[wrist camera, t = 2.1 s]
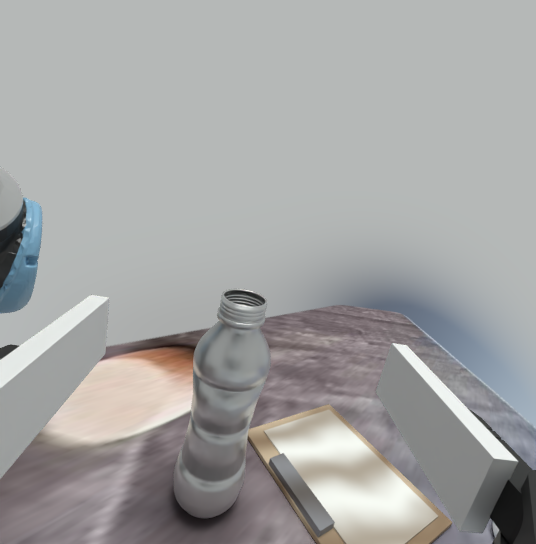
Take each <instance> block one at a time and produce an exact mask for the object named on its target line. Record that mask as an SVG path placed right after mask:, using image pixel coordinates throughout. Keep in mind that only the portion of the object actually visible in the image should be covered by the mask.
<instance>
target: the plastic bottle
mask: <svg viewBox="0 0 536 544" xmlns="http://www.w3.org/2000/svg"><path fill="white" fill-rule="evenodd" d="M266 307H267V300H266V298H264V297H263V296H262V295H260V294H258V293H256V292H252V291H249V290H244V289H229V290H226V291H224V292H223V294H222V297H221V304H220V307H219V309H218V313H217V317H218V319H219V322H217V323H216V324H215V325H214V326H213V327H211V328H210V329H209V330H208V331H207V332H206V333H205V335H204V336H203V337H202V338H201V339H200V341H199V343H198V345H197V347H196V349H195V352H194V360H193V397H192V406H191V415H190V422H189V426H188V429H187V433H186V437H185V440H184V444H183V447H182V449H181V451H180V453H179V455H178V458H177V461H176V465H175V468H174V472H173V483H174V493H175V497H176V500H177V502H178V503H179V505H180V506H181V507H182V508H183V509H184V510H185V511H186V512H187V513H189V514H190V515H192V516H194V517H198V518H212V517H215V516H217V515H220V514H222V513H223V512H225V511H227V510H228V509H229V508H230V507H231V506H232V505H233V503H234V502H235V501H236V499H237V496H238V494H239V492H240V490H241V488H242V486H243V482H244V477H245V452H246V445H247V438H248V430H249V427H250V423H251V419H252V416H253V413H254V410H255V406H256V403H257V401H258V398H259V396H260V393H261V391H262V388H263V386H264V384H265V381H266V378H267V376H268V373H269V370H270V366H271V356H270V349H269V347H268V344H267V341H266V339H265V337H264V335H263V333H262V331H261V329H260V327H262V326H263V325H264V322H265V311H266Z"/></svg>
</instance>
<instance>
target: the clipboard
mask: <svg viewBox="0 0 536 544" xmlns="http://www.w3.org/2000/svg"><path fill="white" fill-rule="evenodd" d="M247 439H248V440H249V442H250V443H251V445H252V446H253V448H254V449H255V451H256V452H257V454H258V455H259V457H260V458H261V460H262V462H263V463H264V465H265V466H266V468H267V469H268V471H269V472H270V474H271V475H272V477H273V478H274V480H275V481H276V483H277V484H278V486H279V487H280V489H281V490H282V492H283V493H284V495H285V497H286V498H287V500H288V501H289V503H290V504H291V506H292V507H293V509H294V510H295V512H296V513H297V515H298V516H299V518H300V519H301V521H302V522H303V524H304V525H305V527H306V528H307V530H308V532H309V533H310V535H311V536H312V538H313V539H314V541H315V542H316V544H431V543H432V542H434V541H435V540H436V539H437V538H438V537H439V536H440V535H441V534H442V533H444V532H445V531H446V530H447V529H448V528H449V527H450V526H451V524H452V522H451V521H450V520H449V519H448V518H447V517H446V516H445V515H444V514H443V513H442V512H441V511H440V510H439V509H438V508H437V507H436V506H435V505H434V504H433V503H432V502H430V501H429V500H428V499H427V498H426V497H425V496H424V495H423V494H422V493H421V492H420V491H419V490H418V489H417V488H416V487H415V486H414V485H413V484H412V483H411V482H410V481H409V480H408V479H406V478H405V477H404V476H403V475H402V474H401V473H400V472H399V471H398V470H397V469H396V468H395V467H394V466H393V465H392V464H391V463H390V462H389V461H388V460H387V459H386V458H385V457H384V456H382V455H381V454H380V453H379V452H378V451H377V450H376V449H375V448H374V447H373V446H372V445H371V444H370V443H369V442H368V441H367V440H366V439H365V438H364V437H363V436H362V435H361V434H360V433H358V432H357V431H356V430H355V429H354V428H353V427H352V426H351V425H350V424H349V423H348V422H347V421H346V420H345V419H344V418H343V417H342V416H341V415H340V414H339V413H338V412H337V411H336V410H334V409H333V408H332V407H331V406H330V405H329V404H328V405H325V406H322V407H319V408H315V409H312V410H309V411H306V412H303V413H299V414H296V415H293V416H290V417H287V418H284V419H280V420H277V421H274V422H271V423H268V424H264V425H261V426H258V427H255V428H252V429H249V430H248V438H247Z"/></svg>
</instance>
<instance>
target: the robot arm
mask: <svg viewBox="0 0 536 544" xmlns="http://www.w3.org/2000/svg"><path fill="white" fill-rule="evenodd" d="M41 234H42V209H41V206H40V205H39V204H38V203H37V202H35V201H31V200H29V199H27V198H23V195H22V192H21V189H20V187H19V184H18V183H17V182H16V180H15V179H14V178H13V177H12V176H11V175H10V174H9V173H8V172H7V171H5V170H4V169H3V168H2V167H0V313H10V312H15V311H17V310H20V309H22V308H23V307H24V306H25V305H26V304H27V303H28V302H29V300H30V298H31V295H32V292H33V288H34V284H35V279H36V274H37V266H38V262H37V260H38V257H39V251H40V245H41ZM108 311H109V298H108V297H101V296H95V295H90V296H89V297H88V298H86V299H85V300H83V301H82V302H81V303H79V304H78V305H77V306H75V307H74V308H73V309H71V310H69V311H68V312H67V313H65V314H64V315H62V316H61V317H60V318H58V319H57V320H56V321H54V322H53V323H51V324H50V325H49V326H47V327H46V328H44V329H43V330H42V331H40V332H39V333H37V334H36V335H34V336H33V337H32V338H30V339H29V340H28V341H26V342H25V343H23V344H22V345H20V346H17V345H7V346H5V347H2V348H0V479H1V478H2V476H3V475H4V474H5V473H6V472H7V470H8V469H9V468H10V467H11V466H12V464H13V463H14V462H15V461H16V460H17V458H18V457H19V456H20V455H21V454H22V452H23V451H24V450H25V449H26V448H27V446H28V445H29V444H30V443H31V442H32V440H33V439H34V438H35V437H36V436H37V435H38V433H39V432H40V431H41V430H42V429H43V427H44V426H45V425H46V424H47V423H48V421H49V420H50V419H51V418H52V417H53V415H54V414H55V413H56V412H57V411H58V409H59V408H60V407H61V406H62V405H63V403H64V402H65V401H66V400H67V399H68V398H69V396H70V395H71V394H72V393H73V392H74V390H75V389H76V388H77V387H78V386H79V384H80V383H81V382H82V381H83V380H84V378H85V377H86V376H87V375H88V374H89V372H90V371H91V370H92V369H93V368H94V366H95V365H96V364H97V363H98V362H99V361H100V359H101V358H102V357H103V356H104V355H105V351H106V338H107V324H108ZM376 393H377V395H378V397H379V398H380V400H381V402H382V403H383V405H384V407H385V408H386V410H387V412H388V413H389V415H390V417H391V418H392V420H393V422H394V423H395V425H396V427H397V428H398V430H399V432H400V433H401V435H402V437H403V438H404V440H405V442H406V443H407V445H408V447H409V448H410V450H411V452H412V453H413V455H414V457H415V458H416V460H417V462H418V463H419V465H420V467H421V468H422V470H423V472H424V473H425V475H426V477H427V478H428V480H429V481H430V483H431V485H432V486H433V488H434V490H435V491H436V493H437V495H438V496H439V498H440V500H441V501H442V503H443V505H444V506H445V508H446V510H447V511H448V513H449V515H450V516H451V518H452V520H453V521H454V523H455V525H456V526H457V528H458V530H459V531H462V532H473V533H483V531H484V529H485V527H486V525H487V523H488V521H489V519H490V518H491V519H492V521H493V522H494V523H495V525H496V526H497V527H498V529H499V532H498V533H497V535H496V537H495V539H494V541H493V543H492V544H536V470H532V469H531V468H530V467H529V466H528V465H527V464H526V463H525V462H524V461H523V460H522V459H521V458H520V457H519V456H518V455H517V454H516V453H515V452H514V451H513V450H512V448H511V447H510V446H509V445H508V444H507V443H506V442H505V441H504V440H501V437H500V436H499V435H498V434H497V433H496V432H495V431H492V428H491V427H490V426H489V425H488V424H487V423H486V422H485V421H484V420H483V419H482V418H481V417H479V416H478V415H477V414H475V413H474V412H472V411H471V410H470V409H468V408H466V406H465V405H464V404H463V403H462V402H461V401H460V400H459V399H458V398H457V397H456V396H455V395H454V394H453V393H452V392H451V391H450V390H449V389H448V388H447V387H446V386H445V385H444V384H443V383H442V382H441V381H440V380H439V378H438V377H437V376H436V375H435V374H434V373H433V372H432V371H431V370H430V369H429V368H428V367H427V366H426V365H425V364H424V363H423V362H422V361H421V360H420V359H419V358H418V357H417V356H416V355H415V354H414V353H413V351H412V350H411V349H410V348H409V347H408V346H407V345H400V344H394V343H392V344H391V347H390V350H389V353H388V356H387V359H386V362H385V365H384V368H383V371H382V374H381V377H380V380H379V383H378V386H377V389H376Z"/></svg>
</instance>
